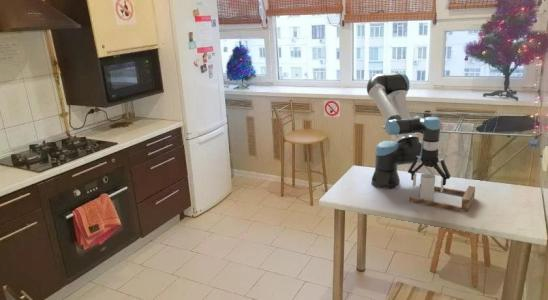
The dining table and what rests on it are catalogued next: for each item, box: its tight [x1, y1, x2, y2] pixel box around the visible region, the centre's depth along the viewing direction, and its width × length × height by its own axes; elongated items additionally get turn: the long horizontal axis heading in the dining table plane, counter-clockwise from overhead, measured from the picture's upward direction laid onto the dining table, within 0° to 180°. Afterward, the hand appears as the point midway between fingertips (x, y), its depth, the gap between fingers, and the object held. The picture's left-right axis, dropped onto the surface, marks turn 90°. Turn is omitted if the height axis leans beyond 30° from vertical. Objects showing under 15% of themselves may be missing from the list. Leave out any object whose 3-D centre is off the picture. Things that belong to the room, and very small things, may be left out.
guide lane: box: [408, 183, 466, 213], centre depth 213 cm, size 24×20×2 cm
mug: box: [419, 172, 436, 201], centre depth 215 cm, size 10×7×12 cm, turn 157°
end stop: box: [461, 185, 476, 212], centre depth 205 cm, size 3×17×6 cm, turn 147°
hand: (427, 188), depth 215 cm, fingers open, 13 cm apart
